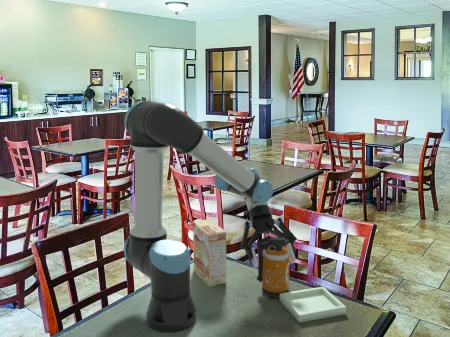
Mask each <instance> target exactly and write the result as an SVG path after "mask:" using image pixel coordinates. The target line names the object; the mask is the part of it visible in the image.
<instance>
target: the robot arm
mask: <svg viewBox="0 0 450 337" xmlns="http://www.w3.org/2000/svg"><path fill="white" fill-rule="evenodd" d="M123 122H124V128H125V130H126V131H127V133H128V134H129V135H130V136H129V138H130V139H129V143H130V144H129V145H130V148H132V150H134V153H135V155H134V158H135V159H134V163H135V164H134V171H135V172H134V226H133V227H131V228H130V230H129V235H128V238H127V239H126V240H125V242H124V246H123V253H124V257H125V259H126V261H127V262H128V263H129V264H130V266H131V267H133V268H134V269H136V270H138V271H139V272H140V273H142V274H143V275H144V276H145V277H146V278H148V279H149V280H150V291H151V292H150V294H151V296H150V299H149V303H148V306H147V309H146V312H145V318H146V320H145V322H146V324H147V326H148V327H150V328H151V329H153V330H155V331H157V332H164V333H174V332H179V331H184V330H185V329H189V327H191V326H192V325H194V323H195V322H196V320H197V309H196V306H195V303H194V301H193V297H192V295H191V269H190V268H191V255H190V251H189V250H190V249H189V248H188V246H187V245H186V244H185V243H183V242H181V241H179V240H173V239H168V238H167V237H168V236H167V235H168V234H167V233H168V231H167V229H166V228H165V227H164V226H163V202H164V201H163V200H164V199H163V197H164V196H163V194H164V193H163V192H164V191H163V190H164V187H163V186H164V152H165V151H166V150H167V149H168V148H169V147H171V148H173V149H174V150H176V151H178V152H180V153H181V154H182V155H190V156H191V157H192V158H194V159H195V160H197V161H198V162H199V163H200V164H202V165H203V166H205V167H206V168H208V169H209V170H210V171H211V172H213V173H214V174H215V177H214V186H215V188H216V189H217V190H220V191H222V192H227V193H231V194H234V195H237V196H240V197H243V198H244V200H245V203H246V207H247V211H248V215H249V218H250V222H249V221H247V220H246V221H245V222H244V224H243V235H242V238H241V239H242V240H241V242H240V243H241V244H240V248H239V249H240V250H244V251H245V252H246V253H247V256H248V259H249V260H251V261H252V262H251V263H252V265H253V269H254V270H257V269H258V266H259V265H258V262H259V260H258V257H257V255H256V250H255V247H252V246H253V244H254V242H255V241H256V239H257V237H258V235H259V234H260V235H263V234H270V233H271V234H272V235H274V236H275V237H279V238H282V237H285V239H287V240H288V244H287V245H285V247H286V248H287V250H288V256H289V258H290V264H295V262H297V258H296V256H295V253H296V249H295V246H294V243H295V242H296V241H297V239H298V238H297V237H296V236H295V234H294V233H293V232H292V231H291V230H290V229H289V228H288V226H286V224H285V223H284V221H283V219H282V217H278V218H276V219H273V216H272V212H271V208H270V206H269V203H268V201H269V200H270V199H271V197H272V196H273V195H274V194H273V192H274V187H273V185H272V182H270V181H268V180H266V179H264V178H261V176H260V174H259V172H258V170H257V169H255V168H252V167H251V168H248V167H246V166H245V165H244V164H242V162H240V161H239V160H238V159H236V158H235V157H234V156H232V154H231V153H229V152H228V151H226V150H225V149H224V148H223V147H221V145H219V144H218V143H217V142H215V141H214V140H213V139H212V138H210V137H209V136H208V135H207V134H205V131H204V128H203V127H202V126H201V125H200V124H199V123H198V122H196V121H195V120H193V118H191V117H190V116H189V115H188V114H187V113H185V112H184V111H183V110H181V109H180V108H178V107H176V106H175V105H173V104H171V103H167V102H166V103H165V102H157V101H151V100H144V101H143V100H141V101H138V102H135V103H132V105H131V106H130V107H129V108H128V109H127V111H126V112H125V116H124V120H123ZM251 228H253V229H254V232H253V234H252V237H251V238H250V240H249V242H248V236H249V232H250V229H251ZM247 242H248V243H247Z"/></svg>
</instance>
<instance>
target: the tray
mask: <svg viewBox="0 0 450 337" xmlns="http://www.w3.org/2000/svg"><path fill="white" fill-rule="evenodd" d="M279 302H280V303H281V304H282V305H283V306H284V307H285V308H286V310H287V311H288V310H289V311H288V312H289V313H290V315H292V316H293V318H295V320H296V321H297V322H298V323H299V324H300V323H304V322H311V321H315V320H320V319H327V318H332V317H337V316H342V315H346V313H347V306H346V305H344V304H343V302H341V300H339V299H338V298H337V297H336V296H334V294H332V293H331V292H330V291H329V290H327V289H326V288H325V287H324V286H318V287H312V288H306V289H300V290H295V291H293V290H292V291H289V292H287V293H280V297H279Z"/></svg>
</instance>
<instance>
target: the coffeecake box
mask: <svg viewBox="0 0 450 337" xmlns="http://www.w3.org/2000/svg"><path fill="white" fill-rule="evenodd" d="M192 234H193V235H192V238H193V239H192V240H193V271H194V272H195V273H196V275H198V277H199V278H201V279H202V281H203V282H204V283H205V284H206V285H207V287H214V286H218V285H223V284H227V231H226V230H224V228H222V227H221V226H219V225H218V224H217V223H215V222H214V221H213V220H211V219H209V218H207V219H202V220H194V221H192Z"/></svg>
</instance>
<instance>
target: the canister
mask: <svg viewBox="0 0 450 337" xmlns="http://www.w3.org/2000/svg"><path fill="white" fill-rule="evenodd" d="M287 244H288V240H287V239H285V237H282V238H279V237H277V236H271V235H267V236H265V237H264V238H261V239H260V240H257V243H256V247H257V249H258V253H257V256H258V257H257V260H258V265H259V266H258V268H257V269H258V270H257V271H258V274H257V276H256V280H257V281H258V282H260V283H261V284H262V285H261V286H262V287H261V292H262V293H263V294H264V295H265V296H267V297H272V298H280V293H287V292H290V290H289V288H290V286H289V285H290V264H291V261H290V258H289V255H288V250H287V248H286V245H287Z"/></svg>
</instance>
